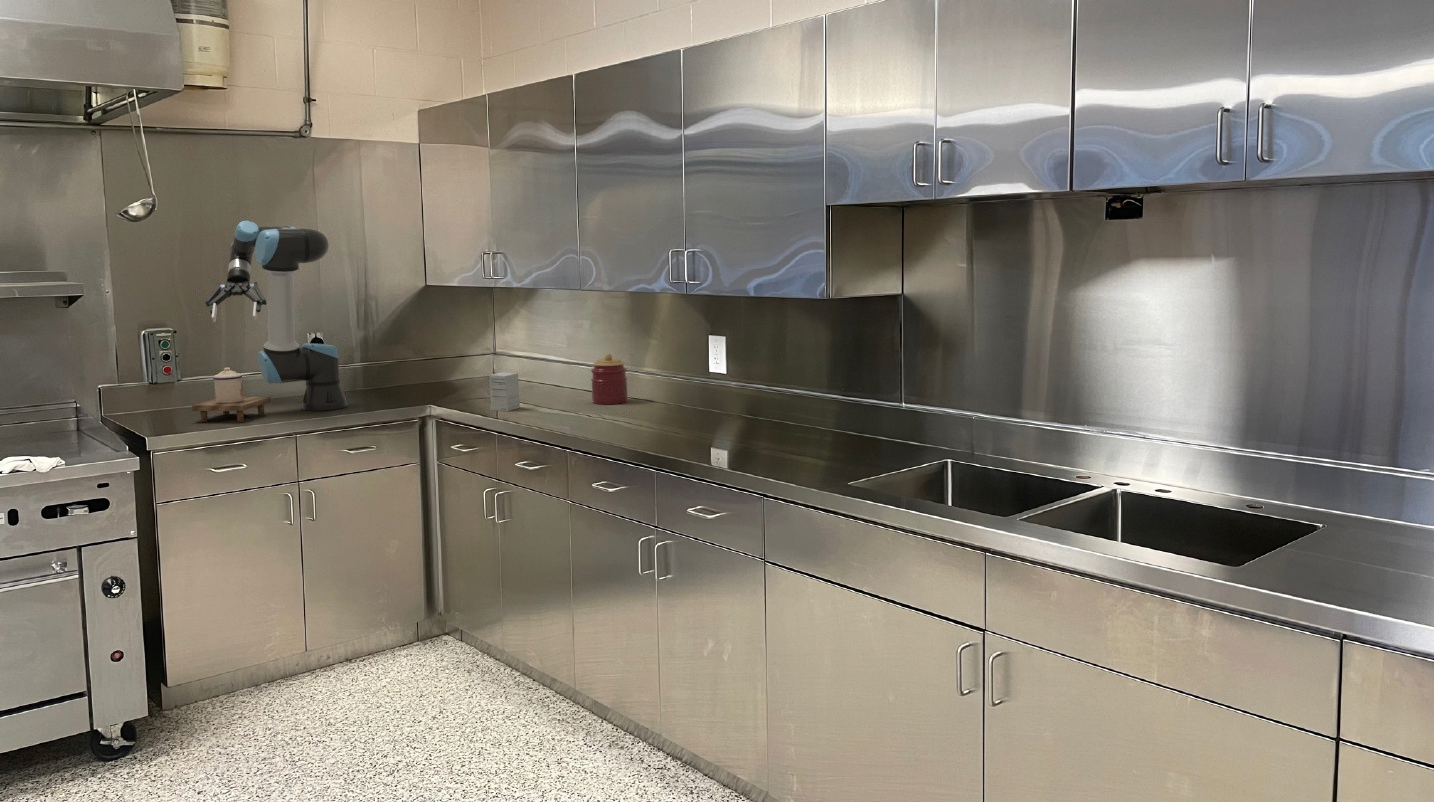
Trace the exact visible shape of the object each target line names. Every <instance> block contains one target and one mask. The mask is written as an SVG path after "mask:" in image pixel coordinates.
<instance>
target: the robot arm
mask: <svg viewBox="0 0 1434 802" xmlns="http://www.w3.org/2000/svg"><path fill="white" fill-rule="evenodd" d="M329 245H330V244H329V241H328V238H327V237H326V235H325V234H324V233H323V232H321V231H319V230H316V229H311V228H296V227H295V226H290V225H285V226H258V225H257V223H255V222H253V221H249V220H243V221H240V222H239V223H238V224H237V226H236V228H235V230H234V236H233V240H232V242H231V245H230V249H229V252H230V254H229V262H228V269H227V278H226V284H222V283H220V282H217V283H216V286H215V288H214V289H213V290H212V292H211V293H210V294H209V295H208V297H207V298H206V299H205V300H204V303H205V305H206V307H209V312H210V314H211V319H212V322H213V323H216V322H217V321H216V320H217V315H218V314H217V313H218V305H220V304H221V303H222V302H224V301H225V300H226V299H227V298H230V297H232V296H245V297H246V298H248V299H249V300H251V301H252V302H253V311H252V317H253V320H254V321H255V322H257V319H258V313H260V312H261V309H262V306H266V305H267V339H268V340H267V341H265V343H264V344H263V350H261V351H259V352H258V353H257V364H258V368H259V372H260V375H261V376H262V378H263V380H264V382H266V383H267V384H273V385H275V384H280V385H281V384H286V383H295V382H303V381H304V382H305V390H304V393H303V394H304V395H303V398H302V403H301V405H302V407H301V408H302V410H303V411H310V412H311V411H312V412H313V411H314V412H323V411H331V410H333V411H334V410H339V409H344V408H346V407H348V402H347V399H346V395H345V394H344V393H345V392H344V390H343V388H342V386H341V379H340V375H341V374H340V363H339V359H340V357H339V355H338V348H337V347H336V346H335V345H332V344H326V343H325V344H324V343H312V342H311V343H310V342H309V343H308V342H307V343H302V346H301V348H300V343H298V342H297V341H296V340H295V339H296V338H295V337H296V336H295V335H296V334H295V333H296V332H295V331H296V329H295V325H296V324H295V274H296V273H297V272H298V271H299V268H300V264H308V263H314V262H317V261H319V260H320V259H322V258H323V257H324V256H326V255H327V252H328V251H329V247H330V246H329ZM254 251H255V252H254ZM254 254H255V259H256V262H257V264H259V265H260V266H261V269H262V270H263V271H264V272H265V273H266V286H267V287H266V290H267V291H266V294H267V295H266V296H267V300H266V297H265V295H264V294H263V293H262V291H261V289H260V288H259V284H258V281H254V282H253V283H250V282H251V280H250V279H251V273H252V271H251V270H252V261H253V256H254ZM250 289H252V290H253V291H255V294H256V295H257V296H256V295H255V294H254V293H252V292H251V291H250Z"/></svg>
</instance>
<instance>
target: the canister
mask: <svg viewBox="0 0 1434 802" xmlns="http://www.w3.org/2000/svg"><path fill="white" fill-rule="evenodd" d="M592 365H593V368H591V369H590V372H591V373H592V378H591V379H590V380H591V381H590V382H591V392H592V393H591V394H592V395H591V400H592V403H594V404H597V405H619V404H624V403H626V402H628V398H629V396H628V395H629V394H628V377H627V374H626V372H627V370H628V369H627V368H626V367H625V366H624V365H625V362H624V361H623V360H621V359H619V358H613V355H612V354H611V353H606V354H605V356H604V358H601V359H597V360H595V362H593V363H592Z"/></svg>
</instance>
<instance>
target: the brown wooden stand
mask: <svg viewBox="0 0 1434 802" xmlns="http://www.w3.org/2000/svg"><path fill="white" fill-rule="evenodd" d="M271 398H272V397H271V396H244V400H243V401H241V402H237V403H226V404H221V403H217V402H216V398H213V399H210V400H206V401H203V402H199V403H195V404H191V411H192V412H195V411H196V412H197V411H199V412H200V421H201V423H206V422H209V420H208V419H209V418H208V412H211V411H212V412H213V411H215V412H216V411H219V412H223V413H222V415H223V416H230V415H231V414H230V412H233V411H234V412H236V420H237V423H244V422H245V418H244V411H247V410H249V409H253V408H257V413H258V414H257V415H258V416H265V405H266V404H269V403H272V399H271Z"/></svg>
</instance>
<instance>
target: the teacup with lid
mask: <svg viewBox="0 0 1434 802" xmlns="http://www.w3.org/2000/svg"><path fill="white" fill-rule="evenodd" d="M212 379H213V381H214V382H213V384H214V393H215V399H216V402H217V403H221V404H226V403H237V402H241V401H243V400H244V397H245V396H244V389H243V375H242V373H239V372H236V371H234V370H231V368H230V367H224V368H223V370H222V371H220V372H219V373H217V374H214V375H213V377H212Z"/></svg>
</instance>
